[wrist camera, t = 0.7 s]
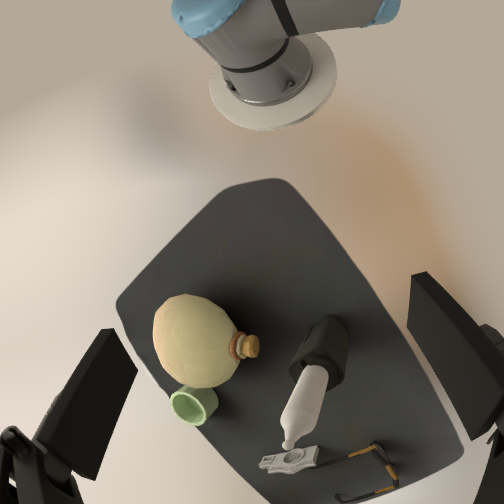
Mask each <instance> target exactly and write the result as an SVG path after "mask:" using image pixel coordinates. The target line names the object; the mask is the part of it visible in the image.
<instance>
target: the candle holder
mask: <svg viewBox="0 0 504 504" xmlns="http://www.w3.org/2000/svg"><path fill="white" fill-rule="evenodd" d="M218 403H219V402H218V397H217V395H216V393H215V392H214V390H213V389H212V388H211V387H210V388H193V387H190V386H187V385H184V386H182V387H181V388H180V389H178V390H177V391H176V392H175V393H173V394H172V396H171V398H170V405H171V407H172V410H173V412H174V413H175V414H176V416H177V417H178V418H179V419H181V420H182V421H183V422H185V423H187V424H189V425H193V426H199V425H201V424H203V423H204V422H205V421H206V420H207V419H208V418H209V417H210V416H211V415H212V414H213V413H214V412H215V410H216V409H217V407H218Z"/></svg>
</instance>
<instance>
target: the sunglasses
mask: <svg viewBox="0 0 504 504" xmlns="http://www.w3.org/2000/svg"><path fill="white" fill-rule="evenodd" d="M368 451H371V452H372V454H373V456H374V457H375V458H376V459H377V460H378V461H379V462H380V463H382V464H383V465H384V466H385V467H386V469H387V470H388V472H389V473H390V475H391V476H392V479H393V485H392V486H389V487H387V488H384V489H381V490H378V491H375V492H372V493H369V494H366V495H363V496H360V497H357V498H354V499H351V500H347V501H343V500H342V499H341V497H340V496H339V494H336V495H335V499H336V500H337V501H339V502H340V503H348V502H353V501H356V500H360V499H364V498H367V497H371V496H374V495H377V494H380V493H383V492H386V491H388V490H391V489H393V488H395V489H396V488H398V487H399V486H400V484H399V480H398V474H397V472H396V470H395V467H394V465H393V463H391V462H390V460H389V458H388V456H387V454H386V452H385V450H384V448H383V447H382V446H381V445H380V444H379V443H378V442H377V441H374V442H372V443H370V447H368V448H365V449H363V450H360V451H357V452H355V453H352V454H349V455H347V456H344V457H341V458H338V459H335V460H332V461H329V462H327V463H324V464H321V465H317V466H314V467H313V466H312V467H309V468H311V469H315V468H319V467H323V466H327V465H330V464H334V463H337V462H340V461H343V460H347V459H350V458H352V457H355V456H358V455H360V454H363V453H366V452H368Z"/></svg>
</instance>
